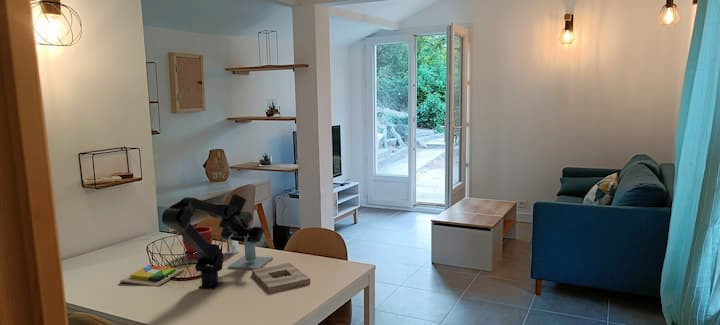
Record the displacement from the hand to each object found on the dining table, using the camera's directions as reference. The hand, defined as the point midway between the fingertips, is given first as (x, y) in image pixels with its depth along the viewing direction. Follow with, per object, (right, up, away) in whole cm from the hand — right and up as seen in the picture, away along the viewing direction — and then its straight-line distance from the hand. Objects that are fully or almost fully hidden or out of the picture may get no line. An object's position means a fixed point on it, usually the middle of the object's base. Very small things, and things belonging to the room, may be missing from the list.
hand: (251, 242), depth 216 cm
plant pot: (-27, -8, +15) cm, 32 cm away
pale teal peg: (0, -7, 0) cm, 7 cm away
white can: (-12, -7, +17) cm, 23 cm away
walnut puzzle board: (+15, -11, -19) cm, 27 cm away
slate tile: (0, -9, 0) cm, 9 cm away
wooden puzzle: (-37, -13, -12) cm, 41 cm away
